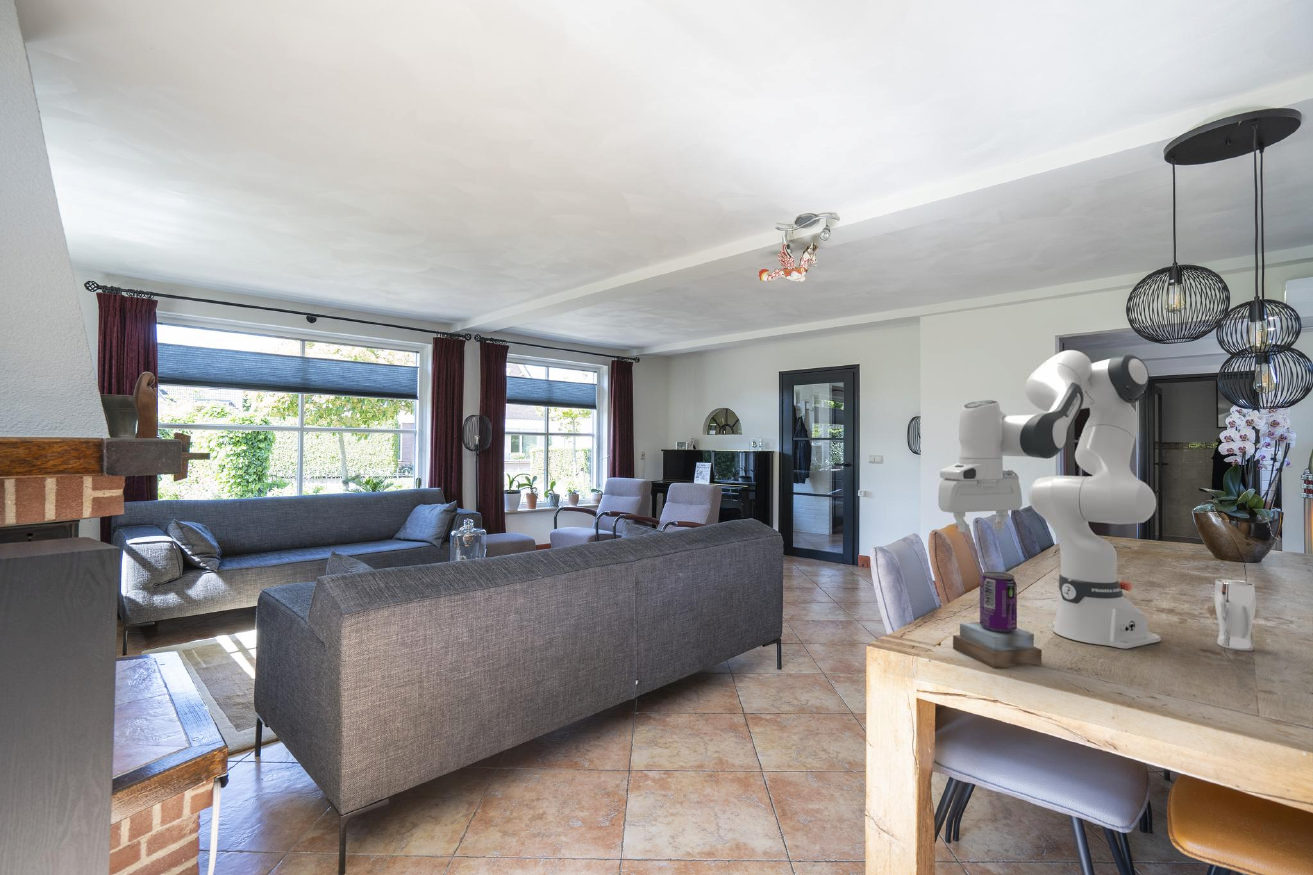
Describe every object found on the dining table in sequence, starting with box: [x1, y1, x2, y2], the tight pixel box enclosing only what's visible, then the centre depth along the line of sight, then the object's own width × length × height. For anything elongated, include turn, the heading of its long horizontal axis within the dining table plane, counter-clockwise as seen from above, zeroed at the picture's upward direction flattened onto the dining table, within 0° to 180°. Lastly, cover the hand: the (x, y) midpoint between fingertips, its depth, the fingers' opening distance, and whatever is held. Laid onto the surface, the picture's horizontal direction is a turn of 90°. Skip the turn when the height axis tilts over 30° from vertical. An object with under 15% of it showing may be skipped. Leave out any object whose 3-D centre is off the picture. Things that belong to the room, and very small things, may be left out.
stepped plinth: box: [952, 621, 1043, 669], centre depth 131 cm, size 12×12×6 cm
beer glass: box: [1213, 578, 1257, 652], centre depth 138 cm, size 7×7×15 cm
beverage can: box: [979, 571, 1018, 632], centre depth 131 cm, size 7×7×12 cm
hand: (981, 530), depth 137 cm, fingers open, 8 cm apart
